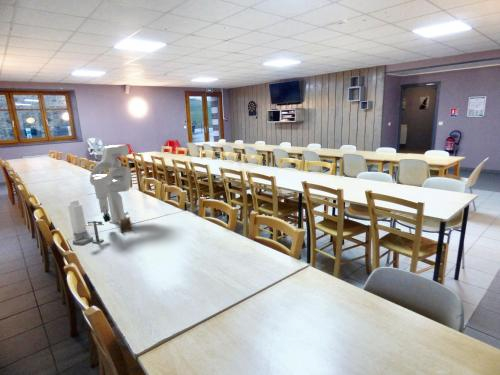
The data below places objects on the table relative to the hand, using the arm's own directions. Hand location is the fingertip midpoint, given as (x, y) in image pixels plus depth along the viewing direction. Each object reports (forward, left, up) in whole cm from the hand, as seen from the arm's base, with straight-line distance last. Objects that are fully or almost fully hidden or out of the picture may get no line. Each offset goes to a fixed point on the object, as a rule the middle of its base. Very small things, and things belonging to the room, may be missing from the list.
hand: (107, 220), depth 209 cm
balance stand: (+18, +9, -8) cm, 22 cm away
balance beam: (+19, +9, +4) cm, 21 cm away
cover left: (0, +15, -4) cm, 15 cm away
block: (0, 0, 0) cm, 1 cm away
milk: (+6, -19, -8) cm, 22 cm away
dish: (+20, -1, -8) cm, 22 cm away
